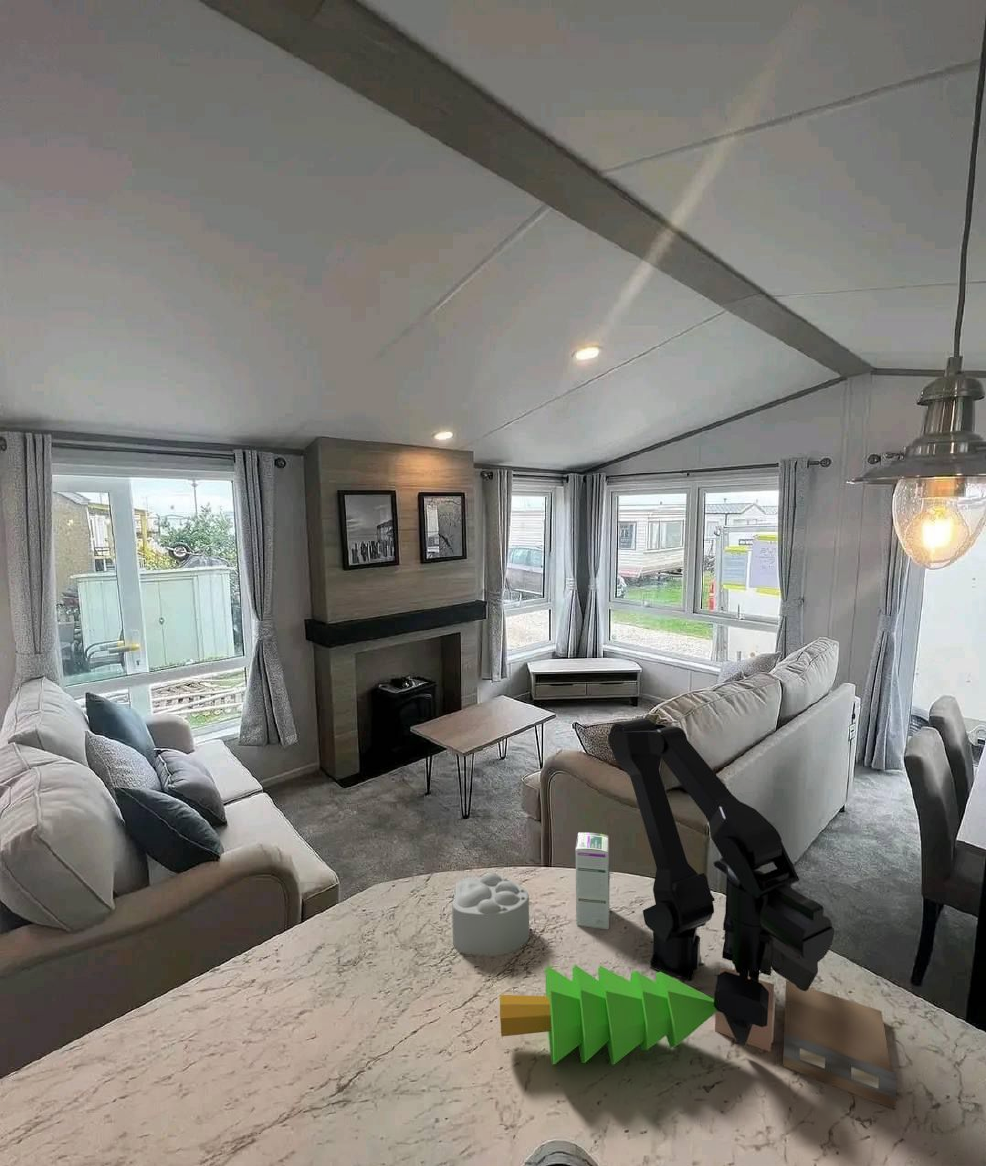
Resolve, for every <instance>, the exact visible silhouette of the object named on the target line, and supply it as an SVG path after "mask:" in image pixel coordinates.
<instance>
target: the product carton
mask: <svg viewBox="0 0 986 1166" xmlns="http://www.w3.org/2000/svg"><path fill="white" fill-rule="evenodd" d="M724 971H726V972H729V973H732V974H735V975H738V976H739V974H740V973H737V972H736V971H735V970H731V969H729V968H728V969H727V968H725V967H722V966H720V968H719V974H720V973H722V972H724ZM748 979H750V977H749V976H748ZM759 983H762V984H763V986H764V987H765V988H766V989H767V990H768V992H769V1005H768V1021H767V1026H764V1027H760V1026H757V1025H754V1024H753V1025H752V1028H751V1031H750V1034H749V1036H748V1039H747V1042H746V1044H748V1045H751V1046H754V1047H756V1048H759V1049H762V1050H764V1051H766V1052H769V1053H771V1052H772V1043H773V1044H774V1029H775V1027H774V1026H775V1010H776V1008H775V1006H776V1005H775V1004H776V994H774V993H775V984H773V983H770V982H767V981H764V980H761V979H759ZM714 1015H715V1020H714V1021H715V1022H714V1023H715V1024H714V1032H717V1033H720V1034H722V1035H724V1036H728V1037H730V1038H732V1039H735V1037H734V1035H733V1033H732V1031H731V1029H730V1027H729V1024H728V1022H727V1020H726V1018H725V1016H724V1015H723V1013H722V1012H719V1011H717V1012H716V1013H715V1014H714Z"/></svg>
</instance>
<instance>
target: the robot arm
mask: <svg viewBox="0 0 986 1166" xmlns="http://www.w3.org/2000/svg"><path fill="white" fill-rule="evenodd" d="M607 736H608V737H607V739H608V744H609V747H610V751H611V752H612V755H613V758H614V759H615V762H616V764H617V765H618V766H619V767H620V768H621V770H623V771H624V772H625V773H626V774H627V775H628V777H629V779H630V781H631V783H632V787H633V791H634V795H635V797H636V801H637V805H638V809H639V812H640V814H641V816H640V817H641V818H642V819H641V820H642V821H643V825H644V829H645V833H646V836H647V840H648V842H649V846H650V849H651V853H652V857H653V860H654V864H655V866H656V872H655V876H654V881H653V886H652V887H653V888H652V893H653V897H654V903H655V904H654V905H651V906H649V907H647V908H645V909H643V910H642V914H643V915H642V916H643V920H644V921H643V922H644V924H645V926H646V927H648V929H650V930H651V931H652V956H651V958H650V961H649V967H650V968H653V969H655V970H658V971H659V972H662V973H665V974H666V973H667V974H669V975H672V976H675V977H678V978H681V979H683V980H686V981H693V978H694V975H695V974H694V973H695V971H697V970H698V969H699V964H700V959H701V958H700V957H701V937H700V936H699V935H697V933H698V932H697V929H698V928H700V927H705V926H706V925H707V924H706V923H708V922H710V921H711V920H712V917H713V914H715V907H714V902H715V900H716V899H715V897H714V896H713V894H712V892H711V889H710V886H709V885H710V884H709V882H708V877H707V875H706V874H705V873H704V872H700V873H698V872H697V870H695V868H693V866H692V865H691V864H690V863H689V861H688V858H687V855H686V852H685V849H684V846H683V843H682V840H681V836H680V832H679V830H678V826H677V823H676V820H675V817H674V814H673V811H672V807H671V804H670V800H669V797H668V794H667V791H666V788H665V784H664V782H663V778H662V775H661V771H660V769H661V762H662V760H663V762H664V764H665V765H666V766H667V768H668V769H669V770H670V771H671V773H672V774H673V776H674V777H675V778H676V779H677V781H678V782H679V784H680V785H681V786H682V787H683V789H684V790H685V791H686V793H687V794H688V795H689V796H690V797H691V799H692V800H693V801H694V803H695V804H696V806H697V807H698V809H700V811H701V812H702V814H703V815H704V816H705V818H706V819H707V822H708V825H709V833H710V838H711V841H712V842H713V844H714V845H715V846H716V849H717V850H718V852H719V854H720V855H721V857H722V858H720V859H717V860H716V861H713V866H714V867H715V868H717V869H718V870H719V871H721V872H722V873H724V874H725V875H726V880H725V881H726V885H725V887H726V888H725V913H724V918H723V924H722V926H723V927H722V928H723V929H722V930H723V931H724V941H723V946H722V953H721V955H722V957H721V958H722V959H724V960H727V961H731V962H732V964H733V966H734V968H735V972H737V973H740V974H739V976H738V975H735V974H732V973H729V972H726V971H724V972H722V973H720V972H719V973H718V974H717V977H716V982H715V987H714V992H713V994H714V995H713V999H714V1007H715V1008H716V1009H717V1011H719V1012H722V1013H723V1015H724V1016H725V1018H726V1020H727V1022H728V1024H729V1027H730V1029H731V1031H732V1033H733V1035H734V1037H735V1038H734V1040H735V1042H737V1043H738V1044H740V1045H742V1046H746V1044H747V1043H746V1042H747V1039H748V1036H749V1034H750V1031H751V1028H752V1025H753V1024H754V1025H757V1026H760V1027H764V1026H767V1021H768V1005H769V992H768V990H767V989H766V988H765V987H764V986H763V984H762V983H759V980H760V974H763V975H766V976H769V977H771V976H772V970H773V971H774V972H775V973H776V974H778V975H779V976H781V977H782V978H784V979H785V980H787V981H790V982H791V983H793V984H795V985H796V987H797V988H798V989H800V990H802V991H807V990H808V989H809V988H811V985H812V983H813V981H814V980H815V979H816V977H817V976H818V972H819V965H818V963H819V962H820V961H821V960H822V959H824V958H825V956H826V955H827V954H828V952H829V951H830V949H831V946H832V944H833V941H834V935H835V928H834V927H833V925H832V921H831V919H830V918H829V917H828V916H827V915H825V914H824V907H823V905H822V904H820V903H818V902H817V901H816V900H814V899H811V898H809V897H807V896H805V895H804V894H802V893H800V892H798V891H797V890H795V889H793V888H792V885H794V884H795V883H798V882H799V881H800V877H799V876H798V873H797V871H796V869H795V867H794V866H795V865H794V863H793V862H792V860H791V858H790V856H789V854H788V853H787V850H786V848H785V846H784V844H783V842H782V837H781V835H780V833H779V832H778V830H777V828H776V827H775V826H774V825H773V824H772V823H771V822H770V821H769V820H767V818H766V817H764V816H763V815H762V814H761V813H760V812H759V811H758V810H757V809H756V808H754V807H752V806H750V805H748V804H746V803H744V802H742V801H740V800H739V799H737V798H736V797H735V795H733V794H732V792H731V791H730V790H729V788H727V785H725V784H724V783H723V781H722V780H721V779H720V778H719V776H718V775H717V774H716V773H715V772H714V771H713V769H712V768H711V767H710V765H708V763H707V762H706V761H705V759H704V758H703V757H702V756H701V754H700V753H699V752H698V751H697V750H696V749H695V748H694V746H693V745H692V743H690V742H689V740H688V737H687V734H686V732H685V731H684V729H682V728H681V727H679V726H675V725H672V726H670V725H668V724H666V723H655V722H653V721H652V720H650V719H648V718H646V717H643V718H638V719H637V718H636V719H632V720H627V721H623V722H617V723H614V724H612V726H611V728H610V730H609V733H608V735H607ZM772 864H774V866H775V869H773V870H770V871H768V872H766V873H765V872H763V871H761V868H765V867H767V866H770V865H772ZM748 976H749V977H750V979H748Z"/></svg>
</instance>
